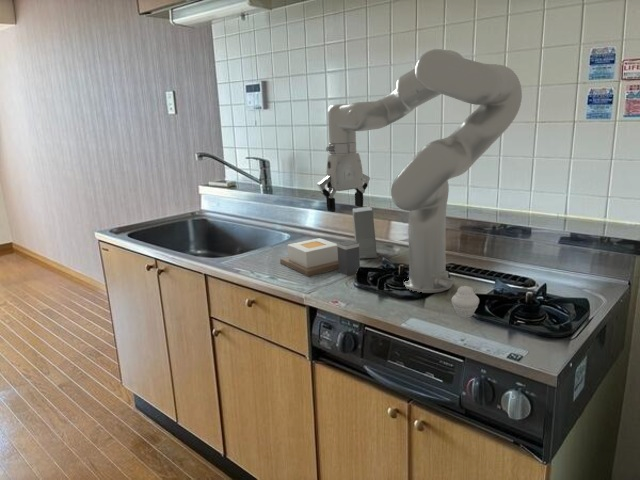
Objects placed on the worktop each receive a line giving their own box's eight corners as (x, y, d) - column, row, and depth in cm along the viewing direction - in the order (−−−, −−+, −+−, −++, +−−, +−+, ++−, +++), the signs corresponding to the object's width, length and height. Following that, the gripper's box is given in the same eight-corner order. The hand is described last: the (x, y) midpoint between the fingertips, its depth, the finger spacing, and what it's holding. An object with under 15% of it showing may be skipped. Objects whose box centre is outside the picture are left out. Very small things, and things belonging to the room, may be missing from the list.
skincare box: (377, 258, 164) (375, 210, 160) (355, 259, 164) (353, 211, 161) (375, 251, 172) (373, 205, 168) (354, 252, 173) (351, 206, 169)
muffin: (465, 307, 120) (465, 279, 119) (485, 315, 115) (485, 286, 114) (445, 313, 118) (445, 285, 116) (464, 322, 112) (464, 292, 111)
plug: (360, 272, 152) (359, 243, 149) (347, 275, 149) (345, 246, 147) (351, 268, 155) (349, 240, 153) (338, 271, 153) (336, 243, 151)
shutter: (325, 247, 160) (325, 245, 160) (309, 250, 157) (309, 248, 157) (316, 244, 164) (316, 241, 164) (301, 247, 162) (300, 245, 161)
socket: (349, 265, 158) (348, 245, 157) (307, 276, 151) (306, 255, 149) (319, 254, 173) (318, 235, 172) (280, 262, 166) (278, 243, 164)
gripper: (323, 152, 136) (327, 215, 140) (375, 147, 145) (377, 206, 149) (309, 151, 142) (313, 211, 147) (360, 146, 151) (362, 203, 155)
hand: (345, 208), depth 148 cm, fingers open, 9 cm apart
